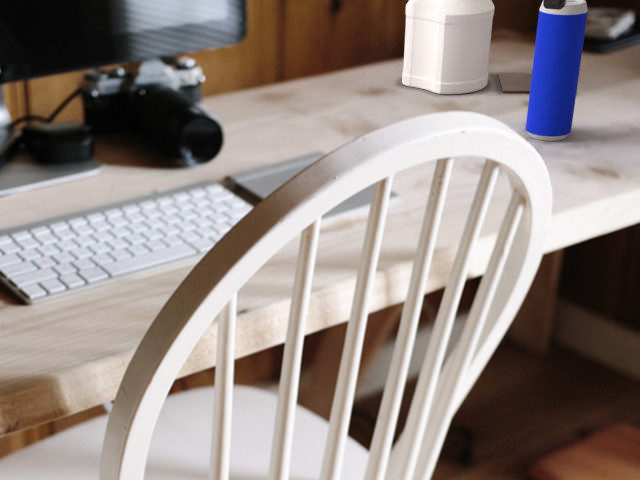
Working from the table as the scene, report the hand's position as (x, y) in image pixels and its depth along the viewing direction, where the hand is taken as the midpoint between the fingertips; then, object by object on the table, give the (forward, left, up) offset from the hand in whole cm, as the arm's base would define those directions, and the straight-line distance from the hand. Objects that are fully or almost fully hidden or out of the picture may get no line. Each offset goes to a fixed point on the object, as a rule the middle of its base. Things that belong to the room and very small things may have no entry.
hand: (563, 1), depth 112 cm
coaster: (-1, -23, -15) cm, 27 cm away
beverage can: (0, 0, -15) cm, 15 cm away
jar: (+11, -23, -15) cm, 29 cm away
